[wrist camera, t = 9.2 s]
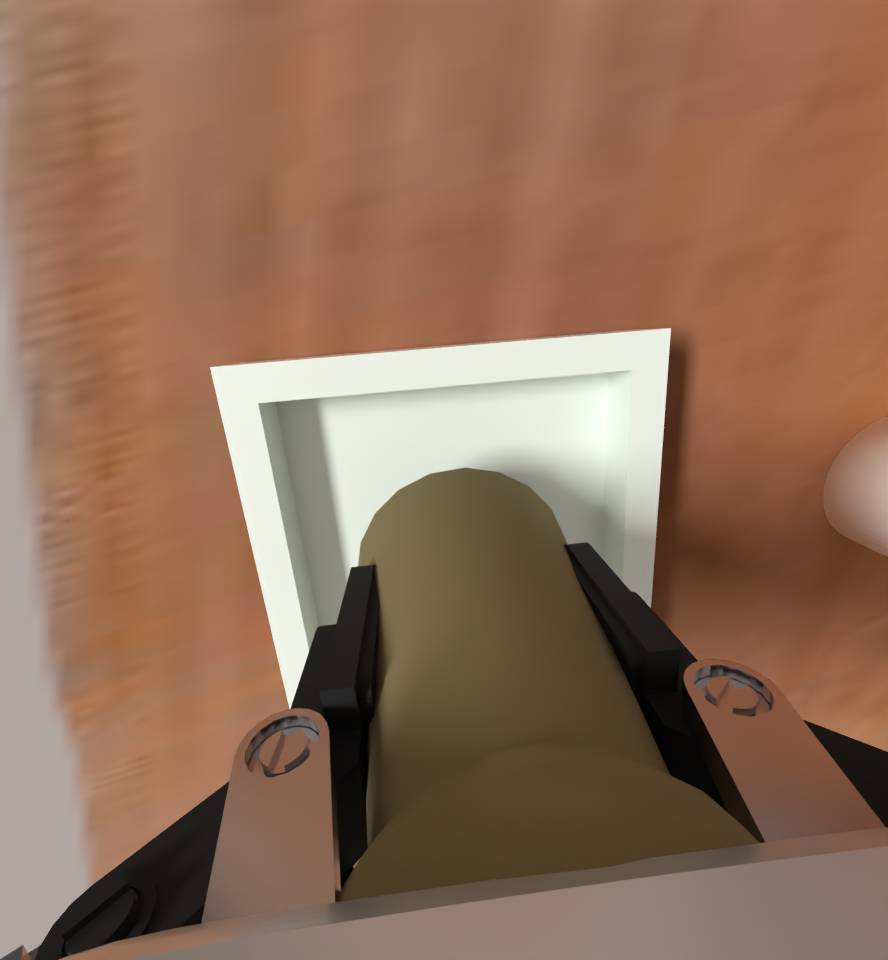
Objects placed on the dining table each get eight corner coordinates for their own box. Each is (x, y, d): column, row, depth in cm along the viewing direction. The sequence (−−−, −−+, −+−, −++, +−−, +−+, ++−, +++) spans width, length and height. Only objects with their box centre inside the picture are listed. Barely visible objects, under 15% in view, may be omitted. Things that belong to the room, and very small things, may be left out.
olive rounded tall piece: (599, 501, 13) (1537, 1310, 2) (523, 674, 14) (843, 1620, 4) (390, 439, 12) (217, 1339, 1) (334, 632, 13) (46, 1745, 3)
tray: (242, 362, 14) (209, 367, 11) (630, 329, 14) (670, 328, 12) (310, 684, 17) (295, 734, 15) (616, 648, 18) (644, 692, 16)
